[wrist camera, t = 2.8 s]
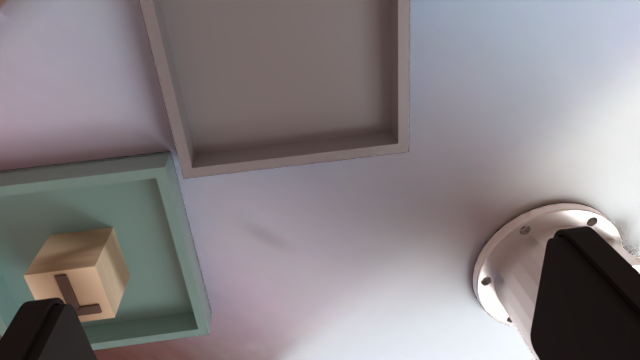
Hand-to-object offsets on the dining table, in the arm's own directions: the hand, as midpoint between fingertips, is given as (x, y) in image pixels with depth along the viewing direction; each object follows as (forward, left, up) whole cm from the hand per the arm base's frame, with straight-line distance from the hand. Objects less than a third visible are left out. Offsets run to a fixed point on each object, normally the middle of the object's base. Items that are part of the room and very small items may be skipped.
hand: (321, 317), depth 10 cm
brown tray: (0, 0, -24) cm, 24 cm away
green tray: (+16, +14, -24) cm, 32 cm away
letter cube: (+16, +14, -24) cm, 32 cm away
